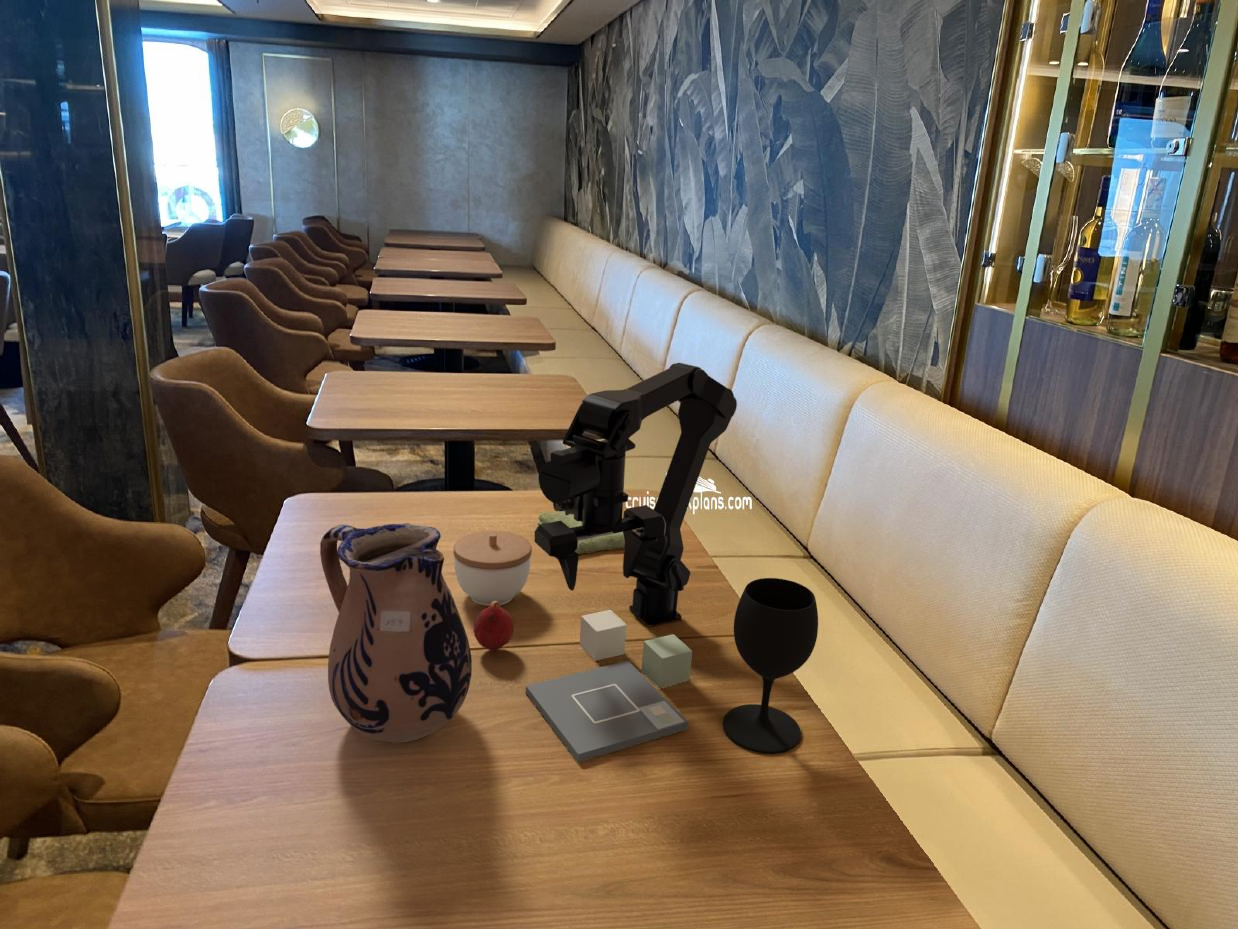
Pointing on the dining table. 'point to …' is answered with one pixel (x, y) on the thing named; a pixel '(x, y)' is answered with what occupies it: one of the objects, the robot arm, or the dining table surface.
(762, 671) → the wine glass
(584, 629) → the cream block
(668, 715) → the slate board
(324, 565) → the ceramic pitcher
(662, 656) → the sage block
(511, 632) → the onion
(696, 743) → the dining table surface
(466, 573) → the lidded bowl
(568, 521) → the washcloth
